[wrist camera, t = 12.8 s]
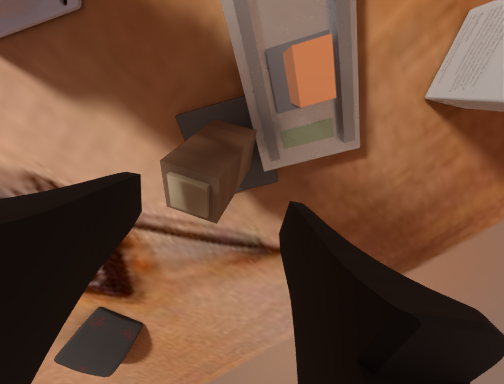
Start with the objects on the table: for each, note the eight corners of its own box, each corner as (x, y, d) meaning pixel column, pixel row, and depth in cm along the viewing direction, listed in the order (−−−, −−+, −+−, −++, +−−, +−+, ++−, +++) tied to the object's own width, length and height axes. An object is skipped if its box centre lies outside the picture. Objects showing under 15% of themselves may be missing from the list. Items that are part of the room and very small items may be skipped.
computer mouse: (63, 344, 34) (41, 375, 30) (95, 301, 29) (74, 331, 25) (112, 360, 36) (97, 390, 33) (149, 322, 31) (137, 353, 28)
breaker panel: (262, 163, 20) (264, 175, 17) (187, -135, 12) (171, -194, 9) (349, 141, 19) (364, 150, 16) (332, -196, 11) (357, -279, 8)
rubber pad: (209, 196, 21) (208, 198, 21) (176, 115, 18) (175, 116, 17) (277, 179, 21) (278, 181, 20) (257, 91, 17) (257, 92, 17)
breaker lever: (277, 113, 16) (285, 121, 12) (265, 50, 14) (270, 40, 10) (332, 97, 15) (354, 102, 12) (326, 31, 13) (351, 14, 10)
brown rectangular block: (213, 156, 19) (164, 209, 13) (215, 118, 17) (156, 163, 11) (250, 168, 19) (214, 227, 13) (256, 130, 16) (217, 182, 11)
